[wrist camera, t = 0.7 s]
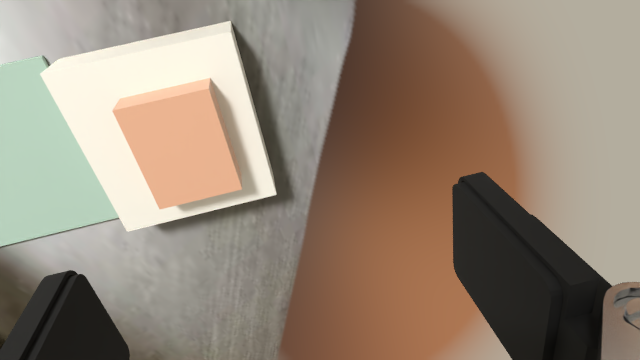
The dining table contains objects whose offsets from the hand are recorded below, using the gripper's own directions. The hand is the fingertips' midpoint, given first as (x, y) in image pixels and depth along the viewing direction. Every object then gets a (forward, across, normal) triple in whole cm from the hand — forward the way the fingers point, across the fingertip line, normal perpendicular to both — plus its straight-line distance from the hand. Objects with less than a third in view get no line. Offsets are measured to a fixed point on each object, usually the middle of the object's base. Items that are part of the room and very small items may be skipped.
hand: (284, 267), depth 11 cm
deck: (+29, +8, +5) cm, 31 cm away
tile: (+25, +7, +6) cm, 27 cm away
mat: (+29, +23, +6) cm, 38 cm away
